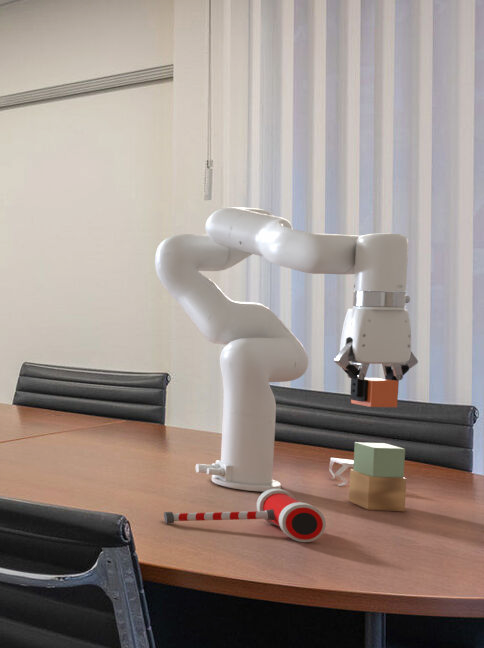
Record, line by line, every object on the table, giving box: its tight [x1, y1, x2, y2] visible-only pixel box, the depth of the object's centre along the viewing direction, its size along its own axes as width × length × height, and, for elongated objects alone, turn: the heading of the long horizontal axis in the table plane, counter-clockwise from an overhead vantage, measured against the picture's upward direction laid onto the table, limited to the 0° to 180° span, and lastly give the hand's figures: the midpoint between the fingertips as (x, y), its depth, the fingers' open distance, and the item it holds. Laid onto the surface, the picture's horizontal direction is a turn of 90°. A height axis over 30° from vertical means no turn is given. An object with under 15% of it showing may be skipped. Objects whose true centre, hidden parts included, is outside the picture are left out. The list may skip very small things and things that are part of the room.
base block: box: [348, 469, 407, 512], centre depth 165 cm, size 6×6×6 cm
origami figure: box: [328, 457, 354, 487], centre depth 181 cm, size 12×8×5 cm
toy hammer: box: [163, 488, 327, 543], centre depth 148 cm, size 23×12×6 cm, turn 77°
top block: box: [350, 377, 399, 408], centre depth 155 cm, size 5×5×5 cm
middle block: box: [352, 441, 406, 478], centre depth 164 cm, size 6×6×6 cm
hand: (373, 399), depth 155 cm, fingers closed on top block, 4 cm apart
